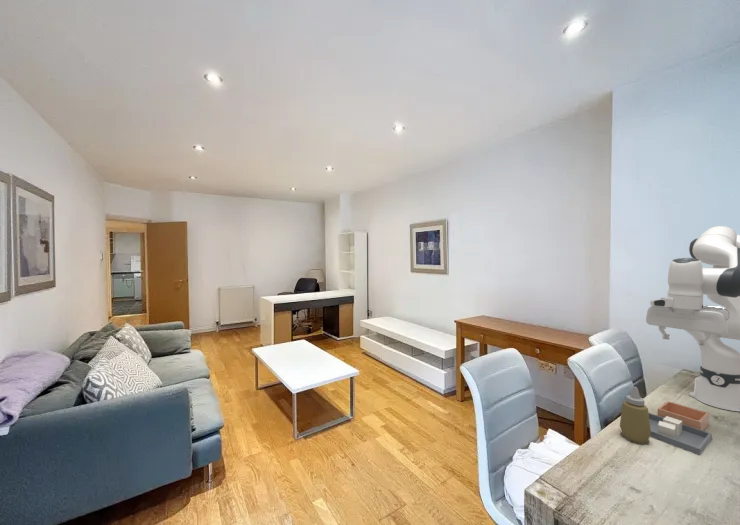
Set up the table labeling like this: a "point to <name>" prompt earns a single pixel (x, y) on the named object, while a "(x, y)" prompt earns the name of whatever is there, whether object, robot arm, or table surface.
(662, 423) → the block
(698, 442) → the tray
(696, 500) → the table surface
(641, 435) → the squeeze bottle
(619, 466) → the table surface
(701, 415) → the bin
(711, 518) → the table surface
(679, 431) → the white cube
